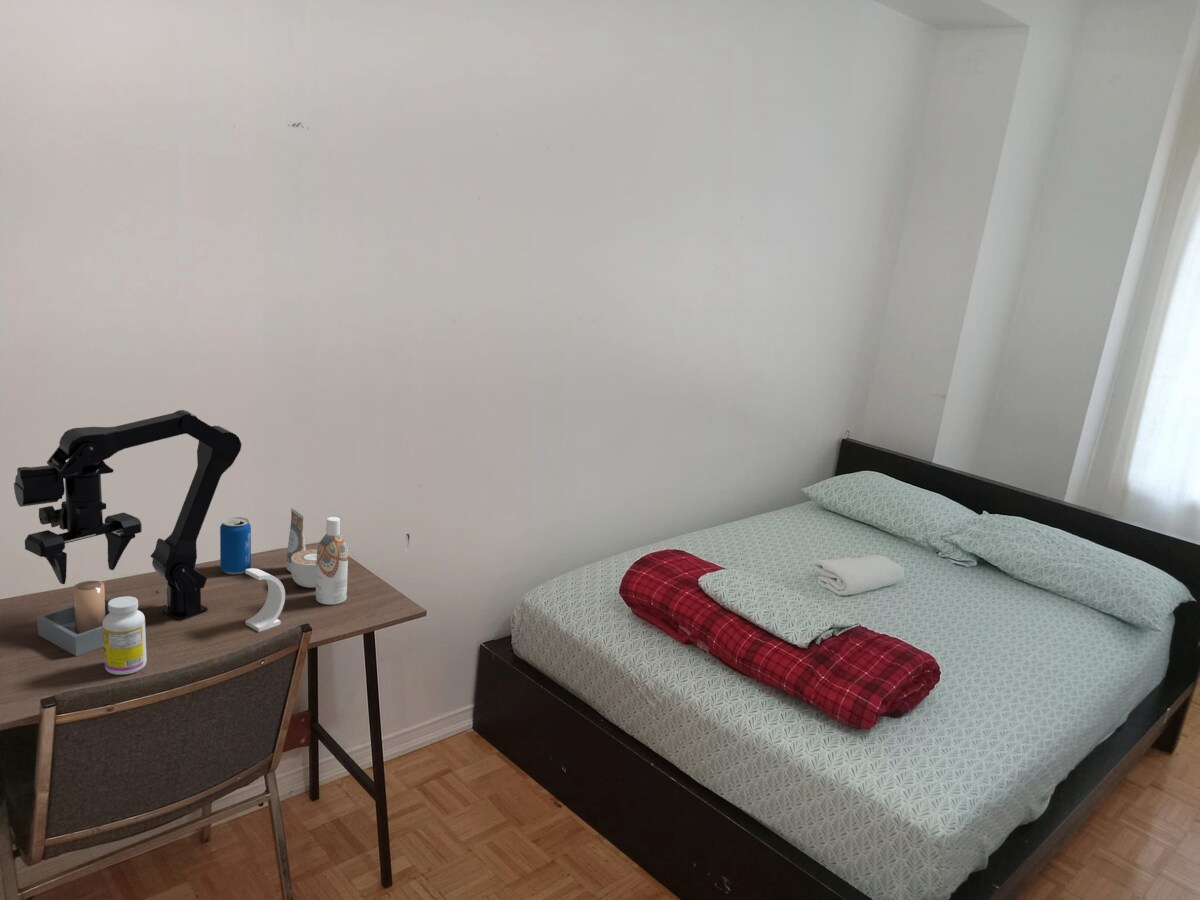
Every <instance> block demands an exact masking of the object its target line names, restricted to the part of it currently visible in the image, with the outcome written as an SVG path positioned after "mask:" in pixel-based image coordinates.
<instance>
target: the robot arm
mask: <svg viewBox="0 0 1200 900" xmlns="http://www.w3.org/2000/svg"><path fill="white" fill-rule="evenodd" d="M184 434H185V435H189V436H190V437H192V438H193V439H195V440H197V441H198V445H197V449H196V458H197V460H196V461H197V467H196V470H195V473H194V475H193V479H192V481H191V484H190V486H189V489H188V491H187V494H186V497H185V499H184V501H183V505H182V506H181V509H180V512H179V514H178V517H177V520H176V522H175V525H174V528H173V530H172V532H171V533H170V535H169V536H168V537H166V538H165V539H163V538H160V537H159V538H157V540H156V544H155V549H154V550H153V552H152V554H151V555H150V558H151V559H152V565H151V566H152V567H153V569H154V571H155V572H157V573H158V574H159V575H160V576H161V577H163V579H164V580H166V581H167V583H166V584H167V587H166V596H167V599H166V600H167V601H166V602H167V606H164V607H161V608H160V611H161V612H162V613H164V614H166V615H168V616H170V617H172V618H175V619H176V620H179V621H182V620H185V619H188V618H191V617H193V616H195V615H198V614H201V613H204V612H207V611H208V609H209V608H208V607H207V606H205V605H203V604H202V599H201V598H202V597H201V593H202V592H201V591H202V589H204V587H206V586H205V585H206V582H207V578H208V577H206V576H205V575H204V574H203V573H202V572H200V571H199V570H198V569H196V562H197V559H198V558H197V557H198V554H197V553H198V551H197V550H198V549H197V539H198V537H199V534H200V532H201V530H202V526H203V524H204V522H205V519H206V517H207V514H208V510H209V508H210V506H211V504H212V500H213V498H214V496H215V493H216V490H217V488H218V486H219V482H220V480H221V477H222V476H223V474H225V472H226V471H227V470H228V469H230V468H231V466H233V464H234V462H235V461H236V459H237V457H238V455H239V453H240V452H241V449H242V442H241V439H240V438H239V436H238V435H237V434H236V433H234V432H232V431H230V430H228V429H226V428H224V427H222V426H220V425H210V424H208V423H207V422H205V421H203V420H201V419H199V418H198V417H197V415H195V414H193V413H192V412H190V411H188V410H184V409H179V410H176V411H174V412H172V413H167V414H163V415H159V416H155V417H151V418H146V419H142V420H137V421H133V422H129V423H124V424H119V425H116V426H84V427H74V428H73V427H72V428H70V429H68V430H65V432H63V434H62V436H61V437H60V440H59V442H58V443H59V446H58V447H56V449H55V451H54V452H53V453H52V455H50V457H49V458H48V460H47V461H46V464H47V465H41V466H32V467H30V466H22V467H21V466H20V467H18V468H17V469H16V470H17V471H16V472H17V473H16V475H15V479H14V482H13V488H14V489H13V490H14V496H15V499H16V502H17V504H18V506H19V507H20V508H23V507H30V506H37V505H44V504H50V503H57V502H58V501H59V500H62V499H63V496H64V495H65V501H64V500H63V501H62V502H61V504H60V505H61V507H60V508H58V509H57V508H56V509H55V507H54V505H48V506H44V507H43V506H42V507H39V508H38V519H39V523H40V525H48V524H50V526H51V527H50V528H56V527H59V529H61V530H62V531H65V530H66V532H62V533H59V534H57V533H56V532H53V531H51V530H49V529H47V530H42V531H38V532H34V533H29V534H28V535H27V536H26V538H25V539H24V550H26V551H28V552H29V553H32V554H34V555H36V556H38V557H41V558H45V559H46V560H47V562H48V563H49V564H50V566H51V569H52V570H53V573H54V574H55V576H56V578H57V580H58V582H59V584H61V585H65V584H66V581H67V580H66V579H67V565H68V563H67V561H68V560H67V559H68V553H67V552H64V550H65V549H66V544H69V543H73V542H77V541H81V540H85V539H89V538H94V537H97V536H100V535H105V536H104V537H105V538H106V540H107V565H108V570H111V571H114V570H115V569H116V566H117V565H118V563H119V561H120V559H121V557H122V555H123V553H124V551H125V550H126V548H127V546H128V545H129V543H130V542H131V540H133V539H135V538H136V534H140V533H142V531H143V529H142V522H141V520H140V518H138V517H136V516H133V515H131V514H129V513H127V512H124V511H122V512H120V513H116V514H112V515H107V516H106V517H105V518H104V519H103V517H104V516H103V510H106V509H107V503H105V502H103V494H102V476H101V475H104V474H112V473H114V469H113V468H112V467H110V466H109V465H108V464H107V463H106V462H105V460H107V459H110V458H111V457H112V456H114V455H115V454H117V453H118V452H120V451H123V450H125V449H130V448H133V447H137V446H141V445H144V444H145V445H146V444H150V443H153V442H157V441H161V440H165V439H169V438H173V437H178V436H180V435H181V436H182V435H184ZM103 520H104V521H103Z"/></svg>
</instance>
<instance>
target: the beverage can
mask: <svg viewBox="0 0 1200 900" xmlns="http://www.w3.org/2000/svg"><path fill="white" fill-rule="evenodd" d="M219 537H220V539H219V548H220V549H219V550H220V552H219V553H220V554H219V555H220V557H219V559H220V563H219V564H220V565H219V566H220V570H221V571H222V572H224V573H226V574H228V575H235V576H236V575H242V574H246V573H245V569H250V568H251V567H252V525H251V524H250V520H249V519H248V518H246V517H239V516H232V517H227V518H224V519H223V520H222V522H221V525H220V526H219Z"/></svg>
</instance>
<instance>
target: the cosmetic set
mask: <svg viewBox="0 0 1200 900" xmlns="http://www.w3.org/2000/svg"><path fill="white" fill-rule="evenodd" d="M290 512H291V514H290V515H291V516H290V518H291V519H290V527H289V534H288V535H289V536H288V543H287V552H286V562H285V563H286V564H285V565H286V570H287V571H288V572H290V574H291V577H292V579H293V581H294V582H295V583H296V584H297V585H298V586H300V587H303V588H308V589H309V588H311V589H315V599H316V601H317V603H320V604H322V605H332V606H333V605H339V604H341V603H344V602H345V601H346V600H347V598H348V597H347V595H348V567H349V566H348V564H349V549H348V545H347V542H346V540H345V539H344V537H343V536H342V534H341V533H340V531H341V528H340V527H341V525H340V524H341V519H340V517H338V516H330V517H327V518H326V528H325V529H326V533H325V535H324V536H323V537H322V539H320V541H319V544H318V545H317V548H316V549H306V541H305V540H306V539H305V533H304V532H305V531H304V515H302V513H300V512H298V511H297V510H296V509H294V508H293V507H290Z"/></svg>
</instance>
